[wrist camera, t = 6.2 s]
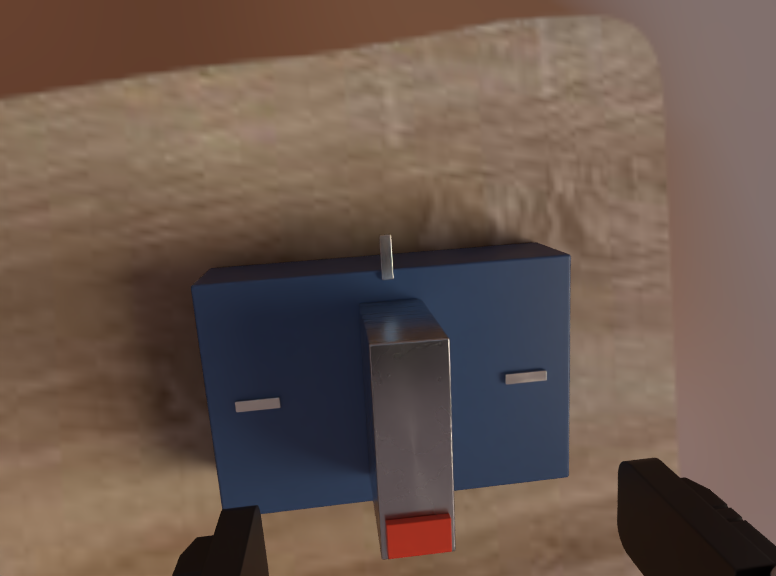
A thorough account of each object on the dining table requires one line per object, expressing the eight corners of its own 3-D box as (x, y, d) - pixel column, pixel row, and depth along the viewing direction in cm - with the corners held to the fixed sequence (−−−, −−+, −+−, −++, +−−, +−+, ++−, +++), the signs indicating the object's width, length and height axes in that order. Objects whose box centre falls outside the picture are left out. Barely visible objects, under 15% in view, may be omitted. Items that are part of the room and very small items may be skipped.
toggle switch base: (537, 212, 21) (574, 220, 18) (538, 462, 23) (571, 508, 20) (205, 237, 20) (183, 250, 17) (240, 497, 22) (226, 551, 19)
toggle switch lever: (358, 302, 18) (369, 347, 13) (421, 298, 18) (452, 340, 14) (369, 476, 19) (383, 567, 15) (428, 469, 19) (458, 557, 15)
